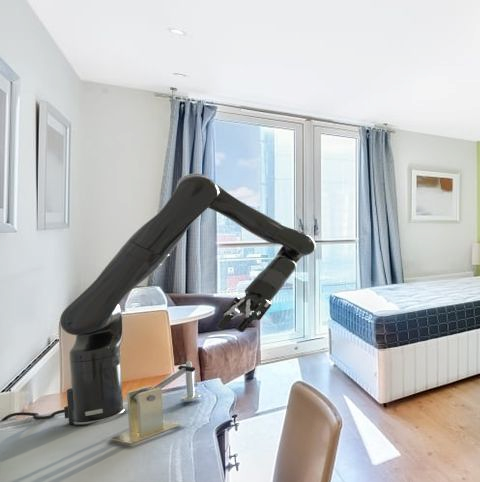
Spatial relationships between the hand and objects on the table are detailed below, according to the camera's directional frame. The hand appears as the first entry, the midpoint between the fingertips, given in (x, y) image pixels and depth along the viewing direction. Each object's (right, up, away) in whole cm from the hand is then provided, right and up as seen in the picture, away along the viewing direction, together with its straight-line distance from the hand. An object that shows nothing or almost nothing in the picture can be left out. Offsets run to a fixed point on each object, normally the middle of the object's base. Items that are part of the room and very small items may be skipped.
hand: (228, 329), depth 126 cm
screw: (-12, -22, +1) cm, 26 cm away
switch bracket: (-6, -23, -18) cm, 30 cm away
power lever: (-5, -12, -14) cm, 19 cm away
